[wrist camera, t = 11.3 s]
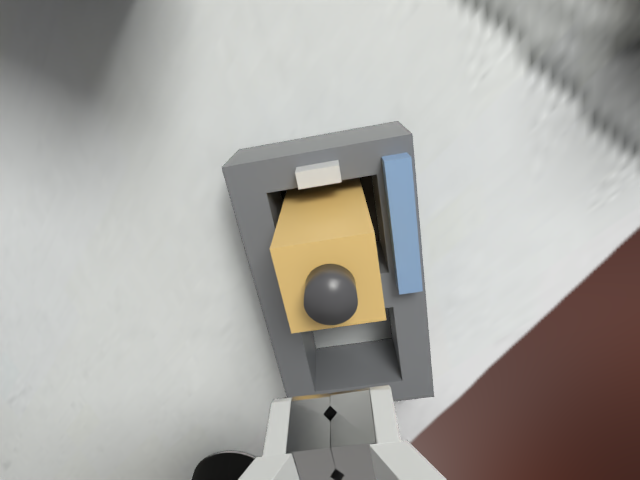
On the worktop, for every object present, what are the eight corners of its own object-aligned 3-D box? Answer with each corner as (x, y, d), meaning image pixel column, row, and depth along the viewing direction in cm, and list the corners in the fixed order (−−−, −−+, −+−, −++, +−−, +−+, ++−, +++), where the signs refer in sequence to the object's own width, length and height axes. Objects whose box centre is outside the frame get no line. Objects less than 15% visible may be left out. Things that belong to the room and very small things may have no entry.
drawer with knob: (302, 243, 25) (288, 352, 16) (289, 181, 23) (265, 263, 14) (366, 233, 25) (390, 338, 15) (357, 170, 23) (378, 246, 14)
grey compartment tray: (296, 369, 29) (290, 426, 25) (238, 149, 23) (216, 172, 18) (420, 353, 28) (438, 409, 24) (398, 121, 22) (416, 137, 17)
